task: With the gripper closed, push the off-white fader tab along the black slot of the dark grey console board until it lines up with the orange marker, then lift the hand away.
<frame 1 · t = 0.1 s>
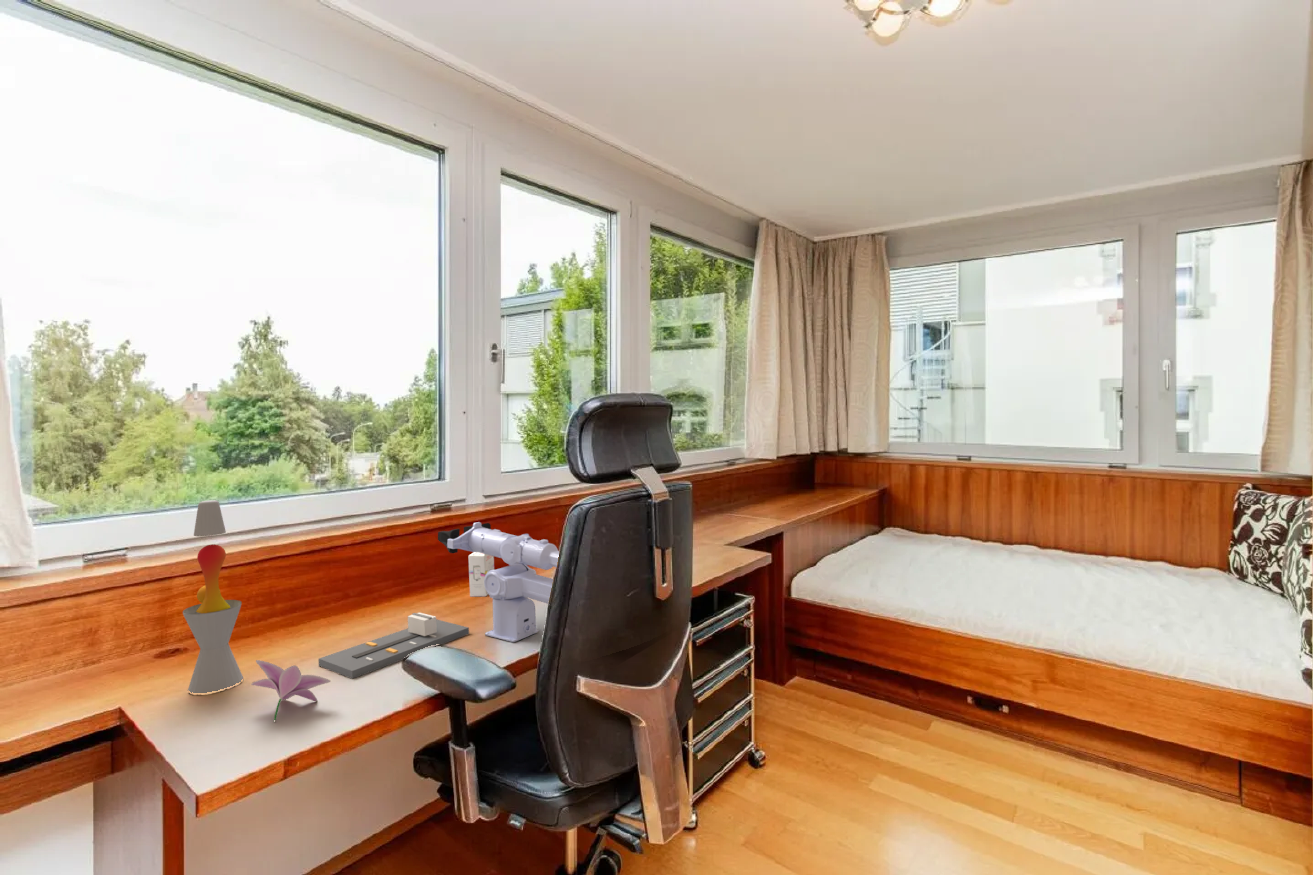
hand: (452, 533, 150), 22 cm above the table, tool horizontal, fingers open, 7 cm apart
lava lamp: (216, 686, 115), on the table
console board: (398, 648, 132), on the table
fader tab: (422, 623, 137), point 4 cm above the table, slide at 0.0 cm
ink cartridge box: (482, 593, 175), on the table
lily: (289, 711, 104), on the table
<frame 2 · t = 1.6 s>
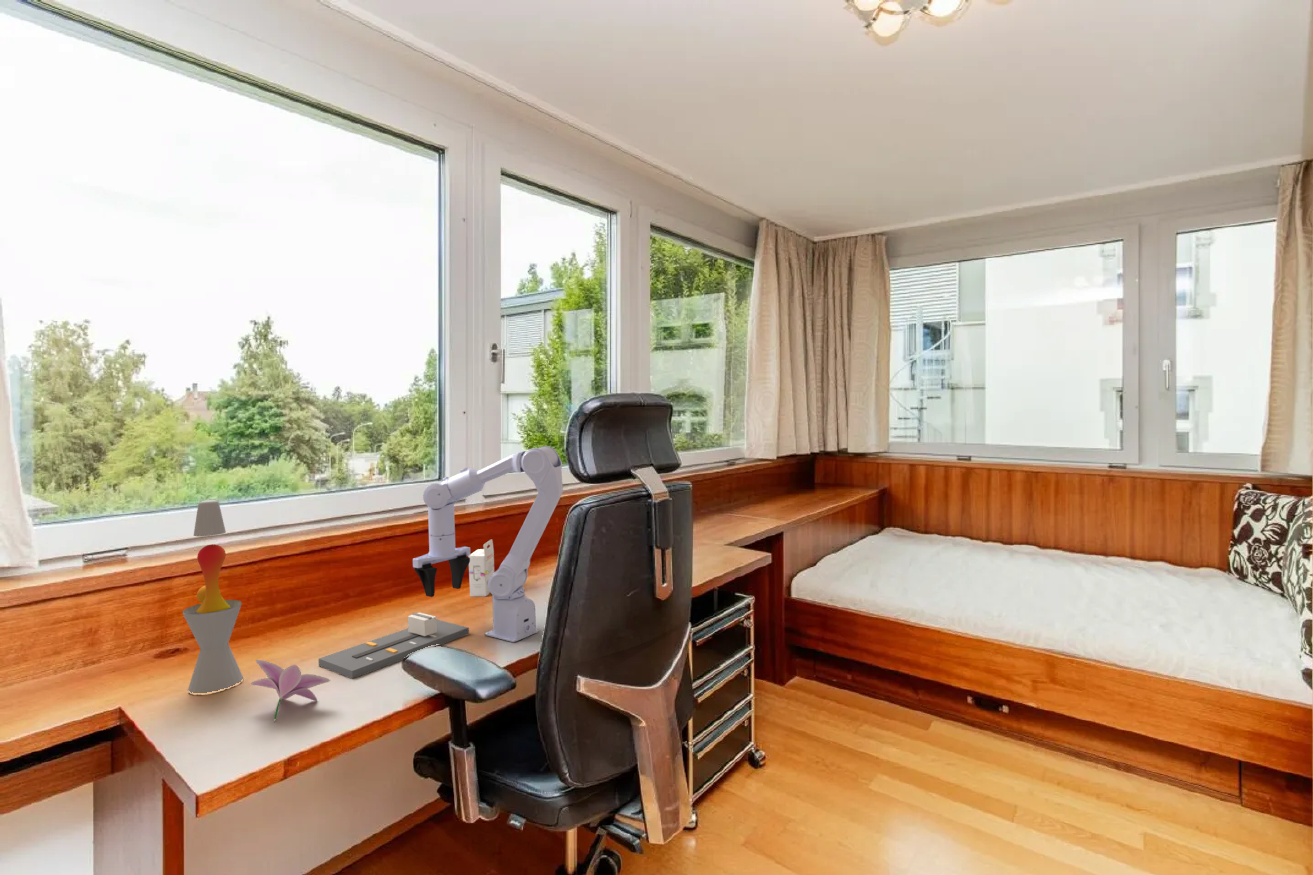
hand: (443, 592, 142), 9 cm above the table, tool pointing down, fingers open, 7 cm apart
nothing on the table moved.
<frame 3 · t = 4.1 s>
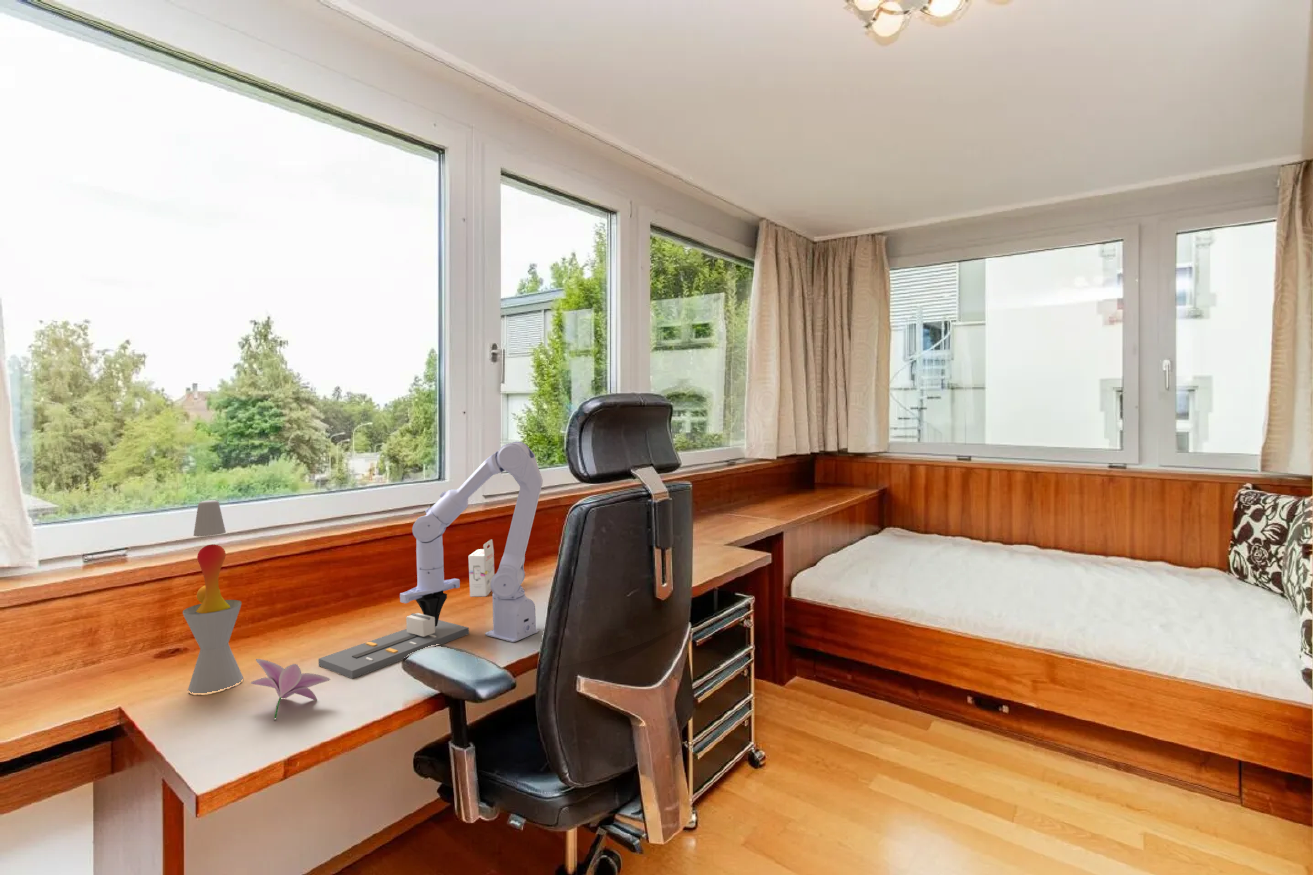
hand: (432, 625, 139), 2 cm above the table, tool pointing down, fingers closed
fader tab: (420, 623, 137), point 4 cm above the table, slide at 0.4 cm, touching gripper
everything else where it was.
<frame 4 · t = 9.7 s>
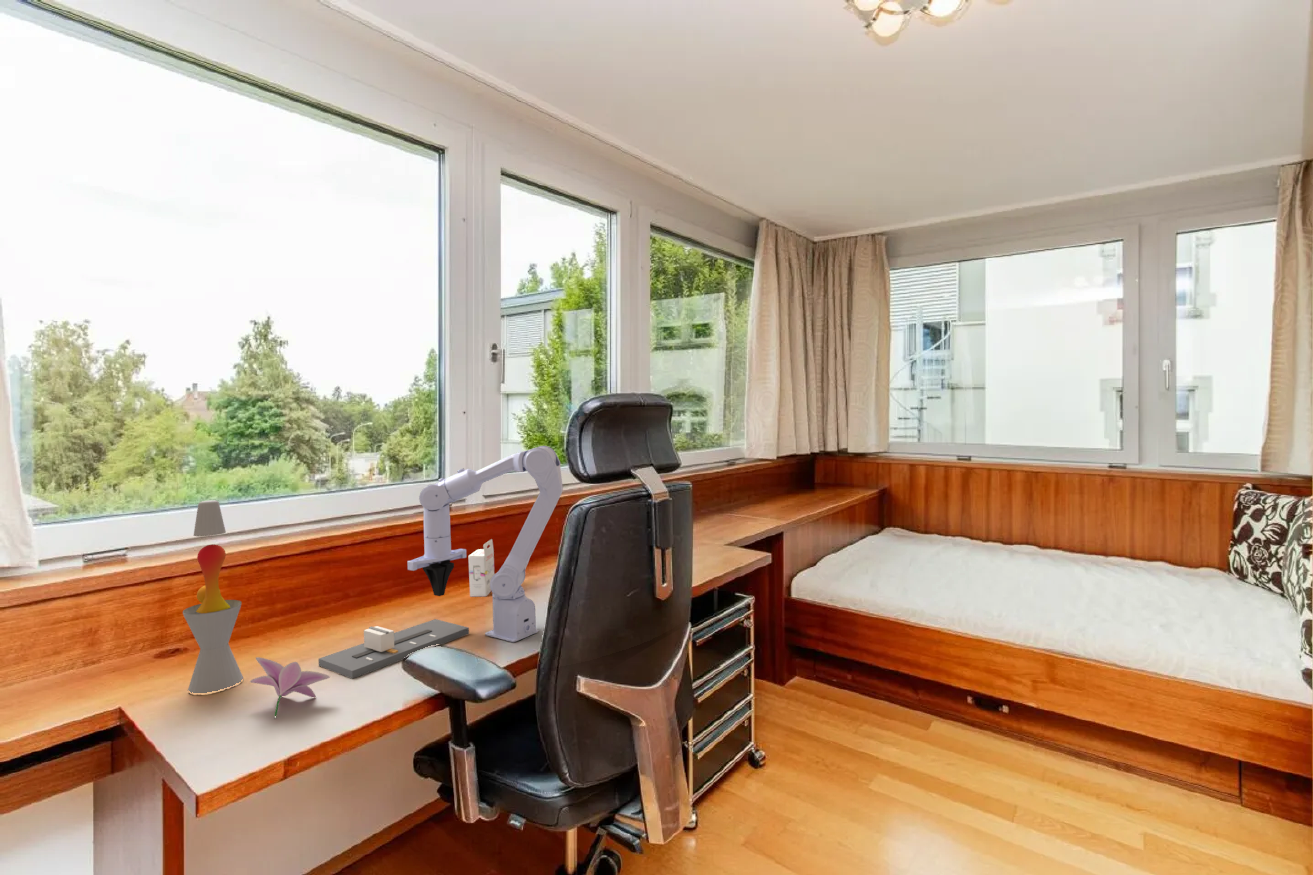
hand: (439, 594, 140), 9 cm above the table, tool pointing down, fingers closed
fader tab: (378, 638, 128), point 4 cm above the table, slide at 10.5 cm
at the end: fader tab slide at 10.5 cm; the gripper is holding nothing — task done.
